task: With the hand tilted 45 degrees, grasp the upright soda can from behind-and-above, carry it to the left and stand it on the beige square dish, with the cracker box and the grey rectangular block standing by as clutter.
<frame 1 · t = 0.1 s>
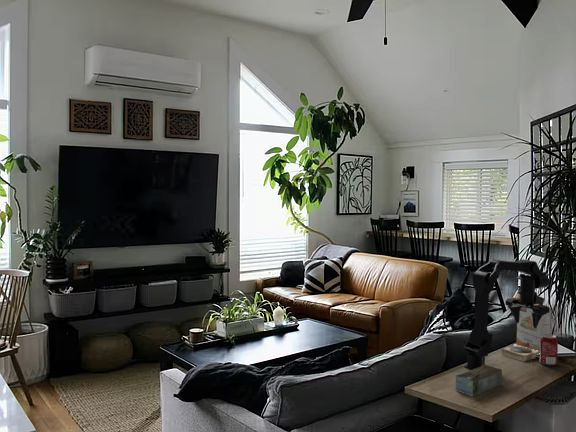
hand: (526, 325, 241), 15 cm above the table, tool pointing down, fingers open, 9 cm apart
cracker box: (532, 350, 255), on the table
soda can: (548, 364, 236), on the table
grey rectangular block: (478, 388, 209), on the table
beige square dish: (520, 355, 246), on the table
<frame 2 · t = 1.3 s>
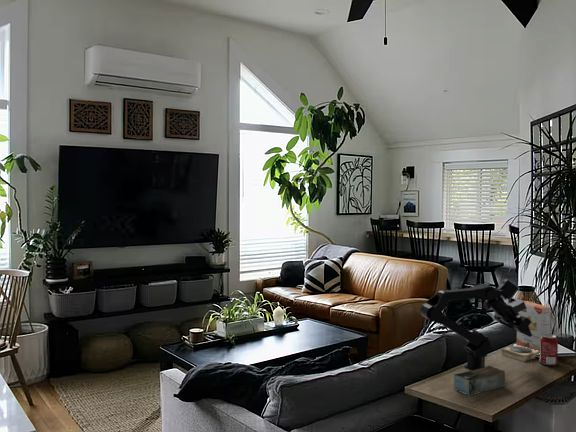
hand: (524, 332, 233), 14 cm above the table, tool tilted 45°, fingers open, 9 cm apart
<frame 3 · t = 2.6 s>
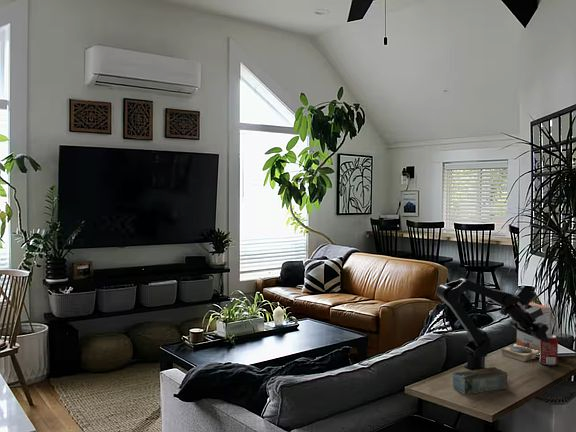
hand: (541, 339, 234), 11 cm above the table, tool tilted 45°, fingers open, 9 cm apart
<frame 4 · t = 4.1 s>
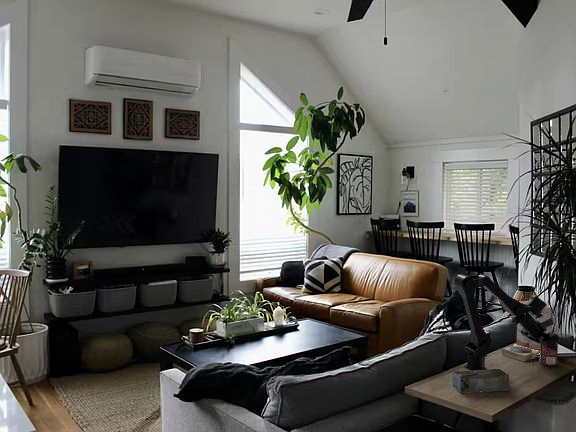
hand: (551, 348, 236), 7 cm above the table, tool tilted 45°, fingers closed on soda can, 6 cm apart
soda can: (548, 364, 236), on the table, touching gripper
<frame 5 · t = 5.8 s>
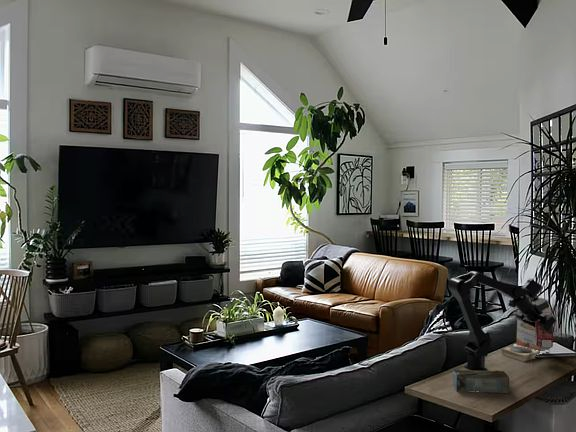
hand: (546, 331, 238), 13 cm above the table, tool tilted 45°, fingers closed on soda can, 6 cm apart
soda can: (543, 347, 237), point 6 cm above the table, touching gripper
when the fingers open (10 cm above the table, at t = 7.5 s): soda can stays where it is, resting on beige square dish.
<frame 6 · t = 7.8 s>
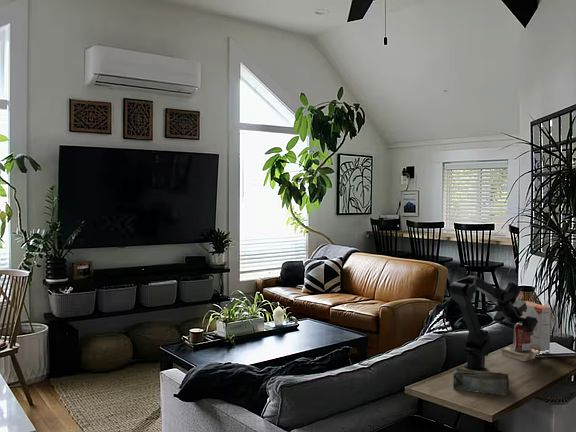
hand: (523, 331, 246), 11 cm above the table, tool tilted 45°, fingers open, 9 cm apart
soda can: (521, 350, 245), point 3 cm above the table, touching beige square dish
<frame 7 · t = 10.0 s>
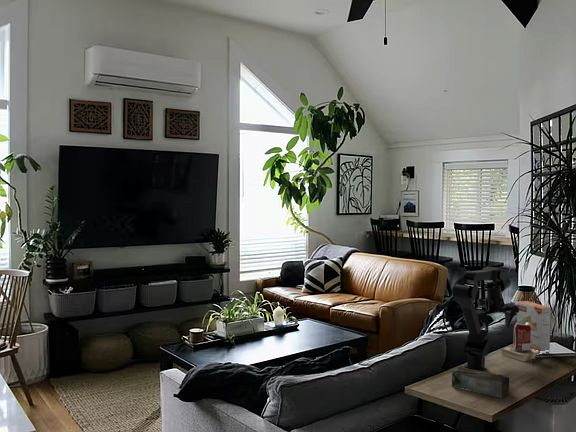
hand: (497, 330, 241), 13 cm above the table, tool pointing down, fingers open, 9 cm apart
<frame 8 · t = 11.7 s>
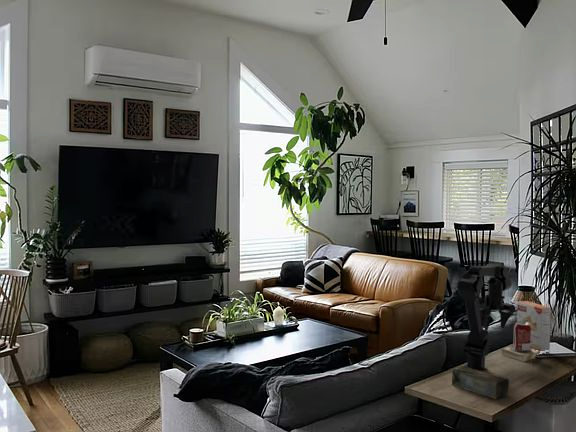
hand: (494, 329, 241), 13 cm above the table, tool pointing down, fingers open, 9 cm apart
at the end: soda can 0.7 cm from the beige square dish (horizontally); soda can tilted 0°; soda can touching beige square dish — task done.
